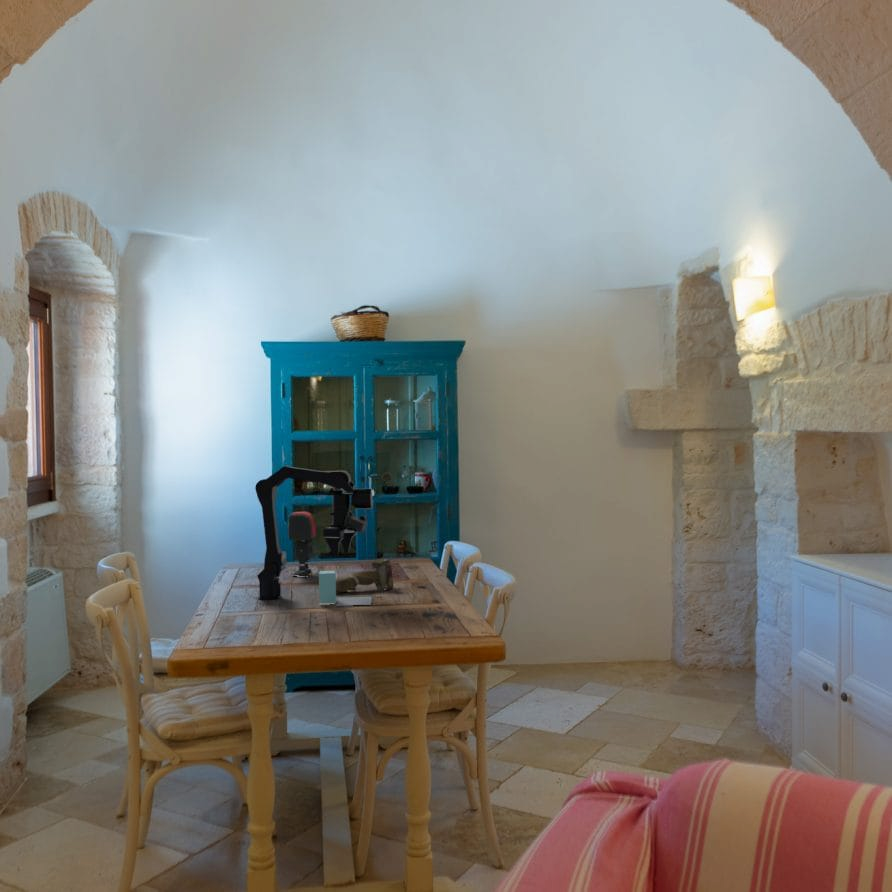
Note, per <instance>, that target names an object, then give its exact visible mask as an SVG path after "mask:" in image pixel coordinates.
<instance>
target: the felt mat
mask: <svg viewBox="0 0 892 892" xmlns="http://www.w3.org/2000/svg"><path fill="white" fill-rule="evenodd" d="M372 600H373V597H372V596H359V597H355V596H354V597H338V598H337V600H336V604H335V606H343V607H354V606H353V605H371V606H372V604H371V603H372Z"/></svg>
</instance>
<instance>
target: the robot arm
mask: <svg viewBox="0 0 892 892" xmlns="http://www.w3.org/2000/svg"><path fill="white" fill-rule="evenodd" d="M288 479H292V480H293V479H294V480H300V481H307V482H314V483H321V484H323V485H326V486H328V487H331V488H330V490H329V491H328V492H326V495H327V496H332V511H331V512H330V516H332V523H331V524H330V526H329V527H325V528H323V530H322V534H321V535H322V537H323V539H324V540H325V541H326V543H327V545H328V547H329V549H330V551H331V553H332V555H333V557H334V559H337V558H339V554H340V545H341V546H342V550H343V552H344V554H345V555H346V554H349V552H350V551H349V550H350V548H351V544H352V540H353V538H354V537H355V536H356V535H357V534H359V533H362V532H365V530H366V528H367V526H368V525H369V524H368V523H369V522H368V520H367V516H365V515H360V516H359V517H357V516H354V512H353V510H351V506H353V507H354V509H355V510H356V509H357V510H373V505H374V498H373V493H372V491H373V489H372V488H370V487H368V488H357V486H356V485H355V484H354V483H353V481H352V476H351V474H350V473H349V472H348V471H347V470H327V471H326V470H325V471H322V470H317V469H309V468H302V467H295V466H290V465H284V466H282V467H280V469H279V470H277V471H276V472H274V473H272V474H271V475H270V476H269V477H267V478H264V479H263V478H262V479H260V480H259V481H258V482H257V483H256V484H255V488H254V489H255V494H256V497H257V499H258V501H259V504H260V506H261V509H262V510H261V512H262V520H263V529H264V537H265V546H266V549H265V553H264V554H265V555H264V562H263V569H262V570H261V571H260V572H259V573H258V574H257V575H256V576H257V579H258V581H259V582H258V583H259V584H258V585H259V589H258V590H259V597H258V600H278V598H280V597H281V596H282V582H280V575H281V573H282V572H284V571H285V569H286V566H287V564H288V563H289V562H288V561H287V551H282V549H281V546H280V540H279V531H278V521H277V513H276V501H277V496H278V487H280V485H282V484H283V483H284V482H285V481H287V480H288Z"/></svg>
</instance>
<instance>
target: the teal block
mask: <svg viewBox="0 0 892 892" xmlns="http://www.w3.org/2000/svg"><path fill="white" fill-rule="evenodd" d="M336 572H337V571H336V570H320V571H319V573H318V597H319V598H318V602H319V606H330V604H335V603H336V604H337V592H336V580H337V579H336ZM336 604H335V605H336Z"/></svg>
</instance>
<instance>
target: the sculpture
mask: <svg viewBox="0 0 892 892" xmlns="http://www.w3.org/2000/svg"><path fill="white" fill-rule="evenodd" d="M371 565H372V567H371V568H372V569H363V570H359V571H356V572H353V573H351V574H350V575H349V576H347V577H343V578H342V577H341V578H339V579H336V593H339V594H345V593H344V592H346V593H348V592H349V591H357V586H371V585H373V584H375V587H376V588H377V589H378V590H380V589H381V591H385V590H384V589H388V590H392V589H393V588H394V577H393V576H394V575H393V570H392V569H393V568H392V563H391V561H390V560H389V559H386V558H379V559H378V558H377V559H373V560H372V562H371Z"/></svg>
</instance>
